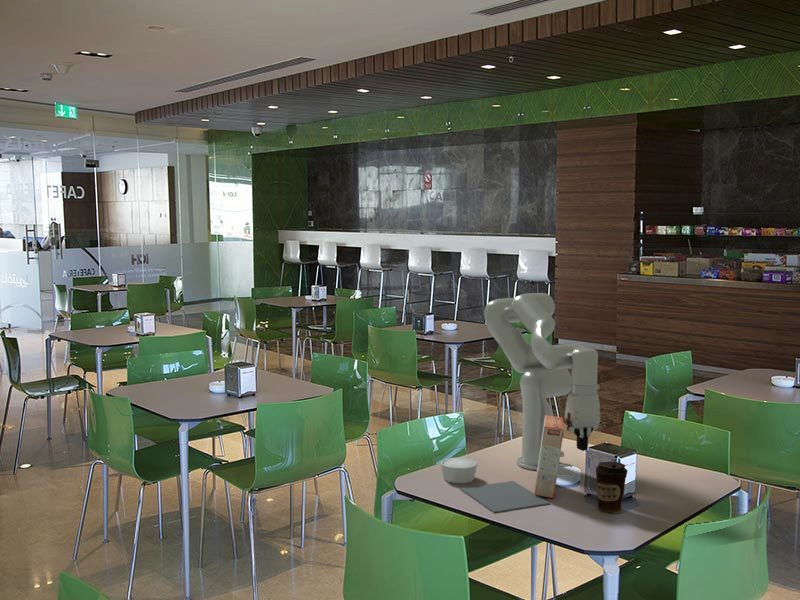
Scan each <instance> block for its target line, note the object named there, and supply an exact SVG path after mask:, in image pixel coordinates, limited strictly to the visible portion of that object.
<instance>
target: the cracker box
mask: <svg viewBox="0 0 800 600" xmlns="http://www.w3.org/2000/svg"><path fill="white" fill-rule="evenodd" d="M564 424H565V420H564V417H561V416H553V415H552V416H548V415H545V418H544V425H543V432H542V439H541V446H540V454H539V461H538V468H537V470H536V476H535V484H534V485H535V486H534V487H535V490H534V494H535V495H537V496H539V497H542V498H543V497H545V498H549V499H554V498H555V494H556V485H557V479H558V472H559V471H558V470H559V466H560V465H559V464H560V459H561V457H560V453H561V451H562V446H563V445H562V444H563V439H564V428H565V427H564Z"/></svg>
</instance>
